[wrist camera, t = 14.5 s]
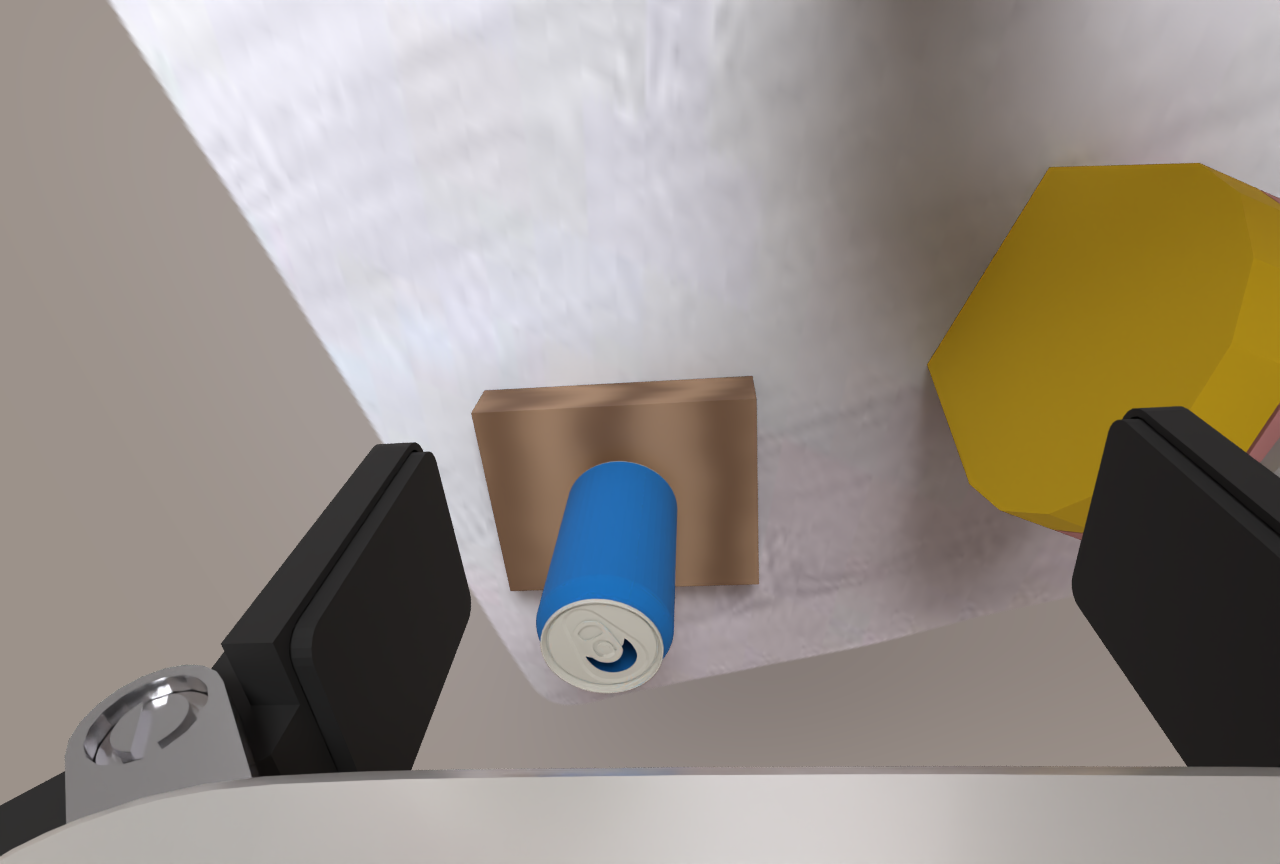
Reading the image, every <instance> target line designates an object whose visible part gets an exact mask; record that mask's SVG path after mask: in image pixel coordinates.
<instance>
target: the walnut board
mask: <svg viewBox="0 0 1280 864" xmlns="http://www.w3.org/2000/svg"><path fill="white" fill-rule="evenodd" d="M471 414H472V419H473V423H474V428H475V432H476V437H477V441H478V446H479V450H480V455H481V459H482V464H483V468H484V473H485V478H486V482H487V487H488V491H489V496H490V500H491V505H492V509H493V514H494V518H495V523H496V527H497V532H498V536H499V541H500V545H501V550H502V554H503V559H504V564H505V568H506V573H507V577H508V582H509V586H510V591H527V590H544V586H545V582H546V578H547V575H548V571H549V567H550V563H551V560H552V556H553V552H554V548H555V545H556V541H557V537H558V534H559V530H560V526H561V522H562V519H563V515H564V511H565V507H566V504H567V500H568V496H569V492H570V490H571V488H572V486H573V484H574V483H575V481H576V480H577V479H578V478H579V477H580V476H581V475H582V474H583V473H584V472H586V471H587V470H589V469H590V468H592V467H594V466H596V465H599V464H602V463H606V462H613V461H627V462H633V463H637V464H641V465H643V466H646V467H648V468H650V469H652V470H653V471H655V472H656V473H658V474H659V475H660V476H661V477H663V478H664V479H665V481H666V482H667V483H668V484H669V486H670V487H671V489H672V491H673V493H674V495H675V498H676V501H677V537H676V571H675V586H712V585H749V584H759V558H758V479H757V399H756V393H755V388H754V382H753V377H752V376H744V377H726V378H707V379H689V380H670V381H652V382H633V383H615V384H596V385H578V386H560V387H541V388H523V389H504V390H486V391H484V392H483V394H482V396H481V397H480V399H479V401H478V403H477V404H476V406H475V408H474V409H473V411H472V413H471Z"/></svg>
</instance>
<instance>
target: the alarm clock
mask: <svg viewBox="0 0 1280 864" xmlns="http://www.w3.org/2000/svg"><path fill="white" fill-rule="evenodd" d="M927 366H928V368H929V371H930V374H931V377H932V380H933V383H934V385H935V388H936V391H937V394H938V397H939V399H940V402H941V405H942V408H943V411H944V414H945V416H946V419H947V422H948V425H949V428H950V431H951V433H952V436H953V439H954V442H955V445H956V447H957V450H958V453H959V456H960V459H961V462H962V464H963V467H964V470H965V473H966V476H967V478H968V481H969V484H970V485H971V486H972V487H973V488H975V489H976V490H977V491H978V492H979V493H980V494H981V495H983V496H984V497H985V498H986V499H987V500H988V501H990V502H991V503H992V504H993V505H994V506H995V507H997V508H998V509H999V510H1000V511H1003V512H1006V513H1009V514H1011V515H1014V516H1017V517H1020V518H1022V519H1025V520H1028V521H1031V522H1033V523H1036V524H1039V525H1042V526H1044V527H1047V528H1050V529H1053V530H1055V531H1058V532H1061V533H1064V534H1066V535H1069V536H1072V537H1075V538H1077V539H1080V540H1082V536H1083V532H1084V528H1085V524H1086V520H1087V516H1088V512H1089V508H1090V503H1091V499H1092V495H1093V491H1094V487H1095V483H1096V479H1097V475H1098V471H1099V467H1100V463H1101V459H1102V455H1103V451H1104V447H1105V443H1106V439H1107V435H1108V431H1109V428H1110V426H1111V425H1112V423H1113V422H1114V421H1116V420H1122V419H1123V417H1124V415H1125V414H1126V413H1127V411H1129V410H1131V409H1132V408H1150V407H1171V406H1182V407H1185V408H1187V409H1189V410H1190V411H1191V412H1193V413H1194V414H1195V415H1197V416H1198V417H1199V418H1201V419H1202V420H1203V421H1205V422H1206V423H1207V424H1209V425H1210V426H1211V427H1213V428H1214V429H1215V430H1217V431H1218V432H1219V433H1221V434H1222V435H1223V436H1225V437H1226V438H1227V439H1229V440H1230V441H1231V442H1233V443H1234V444H1235V445H1237V446H1238V447H1239V448H1241V449H1242V450H1244V451H1245V452H1246V453H1248V454H1249V455H1250V456H1252V457H1253V458H1254V459H1256V460H1257V461H1258V462H1260V463H1261V464H1262V465H1264V466H1265V467H1266V468H1268V469H1269V470H1270V471H1272V472H1273V473H1274V474H1276V475H1277V476H1278V477H1280V198H1277V197H1275V196H1273V195H1271V194H1268V193H1266V192H1264V191H1262V190H1259V189H1257V188H1255V187H1253V186H1250V185H1248V184H1246V183H1244V182H1241V181H1239V180H1237V179H1234V178H1232V177H1230V176H1228V175H1225V174H1223V173H1221V172H1219V171H1216V170H1214V169H1212V168H1210V167H1207V166H1205V165H1203V164H1201V163H1181V164H1146V165H1111V166H1076V167H1049V169H1048V170H1047V172H1046V174H1045V175H1044V177H1043V178H1042V180H1041V182H1040V183H1039V185H1038V186H1037V188H1036V190H1035V191H1034V193H1033V195H1032V196H1031V198H1030V199H1029V201H1028V203H1027V204H1026V206H1025V207H1024V209H1023V211H1022V212H1021V214H1020V216H1019V217H1018V219H1017V220H1016V222H1015V224H1014V225H1013V227H1012V228H1011V230H1010V232H1009V233H1008V235H1007V237H1006V238H1005V240H1004V241H1003V243H1002V245H1001V246H1000V248H999V249H998V251H997V253H996V254H995V256H994V257H993V259H992V261H991V262H990V264H989V266H988V267H987V269H986V270H985V272H984V274H983V275H982V277H981V278H980V280H979V282H978V283H977V285H976V287H975V288H974V290H973V291H972V293H971V295H970V296H969V298H968V299H967V301H966V303H965V304H964V306H963V308H962V309H961V311H960V312H959V314H958V316H957V317H956V319H955V320H954V322H953V324H952V325H951V327H950V329H949V330H948V332H947V333H946V335H945V337H944V338H943V340H942V341H941V343H940V345H939V346H938V348H937V350H936V351H935V353H934V354H933V356H932V358H931V359H930V361H929V362H928V364H927Z"/></svg>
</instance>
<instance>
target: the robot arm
mask: <svg viewBox="0 0 1280 864" xmlns="http://www.w3.org/2000/svg"><path fill="white" fill-rule="evenodd" d="M1072 591H1073V596H1074V598H1075V601H1076V603H1077V605H1078V606H1079V608H1080V610H1081V611H1082V612H1083V614H1084V616H1085V617H1086V618H1087V620H1088V621H1089V623H1090V624H1091V626H1092V627H1093V629H1094V630H1095V632H1096V633H1097V635H1098V636H1099V638H1100V639H1101V640H1102V642H1103V643H1104V645H1105V646H1106V648H1107V649H1108V651H1109V652H1110V654H1111V655H1112V657H1113V658H1114V660H1115V661H1116V662H1117V664H1118V665H1119V667H1120V668H1121V670H1122V671H1123V673H1124V674H1125V676H1126V677H1127V678H1128V680H1129V682H1130V683H1131V684H1132V686H1133V687H1134V689H1135V690H1136V692H1137V693H1138V694H1139V696H1140V698H1141V699H1142V701H1143V702H1144V704H1145V705H1146V706H1147V708H1148V709H1149V711H1150V712H1151V714H1152V715H1153V717H1154V718H1155V720H1156V721H1157V722H1158V724H1159V725H1160V727H1161V728H1162V730H1163V731H1164V733H1165V734H1166V736H1167V737H1168V739H1169V740H1170V742H1171V743H1172V745H1173V746H1174V748H1175V749H1176V750H1177V752H1178V753H1179V755H1180V756H1181V758H1182V759H1183V761H1184V762H1185V764H1186V765H1187V767H1085V766H1080V767H1078V766H1077V767H1076V766H1074V767H1073V766H1067V767H1066V766H1059V767H1058V766H1055V767H1054V766H1052V767H1051V766H1048V767H1047V766H933V767H932V766H907V767H906V766H900V767H899V766H895V767H894V766H891V767H889V766H886V767H671V768H670V767H666V768H665V767H661V768H553V769H552V768H551V769H550V768H549V769H458V770H457V769H456V770H411V769H412V767H413V764H414V761H415V759H416V756H417V753H418V751H419V748H420V746H421V743H422V740H423V738H424V735H425V732H426V730H427V727H428V724H429V722H430V719H431V717H432V714H433V712H434V709H435V706H436V704H437V701H438V698H439V696H440V693H441V691H442V688H443V685H444V683H445V680H446V678H447V675H448V672H449V669H450V667H451V664H452V662H453V659H454V657H455V654H456V651H457V649H458V646H459V644H460V641H461V638H462V635H463V633H464V630H465V628H466V625H467V623H468V620H469V616H470V611H471V597H470V591H469V588H468V584H467V580H466V576H465V572H464V568H463V564H462V560H461V556H460V552H459V548H458V544H457V541H456V537H455V533H454V529H453V525H452V521H451V517H450V513H449V509H448V505H447V501H446V498H445V494H444V490H443V486H442V482H441V478H440V474H439V470H438V466H437V462H436V459H435V457H434V455H433V454H432V453H431V452H423V450H422V448H421V446H420V445H419V444H417V443H416V442H415V443H394V444H378V445H376V446H374V447H373V448H372V450H371V451H370V452H369V454H368V455H367V456H366V457H365V459H364V460H363V461H362V463H361V464H360V465H359V466H358V468H357V469H356V470H355V472H354V473H353V474H352V476H351V477H350V478H349V479H348V481H347V482H346V483H345V484H344V486H343V487H342V488H341V490H340V491H339V492H338V494H337V495H336V496H335V497H334V499H333V500H332V502H330V504H329V505H328V506H327V508H326V509H325V510H324V512H323V513H322V514H321V515H320V517H319V518H318V519H317V521H316V522H315V523H314V525H313V526H312V527H311V528H310V530H309V531H308V532H307V534H306V535H305V536H304V537H303V539H302V540H301V541H300V543H299V544H298V545H297V546H296V548H295V549H294V550H293V552H292V553H291V554H290V555H289V557H288V558H287V559H286V561H285V562H284V563H283V564H282V566H281V567H280V568H279V570H278V571H277V572H276V573H275V575H274V576H273V577H272V579H271V580H270V581H269V582H268V584H267V585H266V586H265V588H264V589H263V590H262V591H261V593H260V594H259V595H258V597H257V598H256V599H255V600H254V602H253V603H252V604H251V606H250V607H249V608H248V610H247V611H246V612H245V613H244V615H243V616H242V618H241V619H240V620H239V621H238V622H237V624H236V625H235V626H234V628H233V629H232V630H231V632H230V633H229V634H228V635H227V637H226V638H225V639H224V640H223V642H222V643H221V645H222V647H223V649H224V653H223V654H222V655H221V657H220V658H219V659H218V661H217V662H216V663H215V665H214V666H213V667H212V669H210V668H208V667H205V666H200V665H181V666H176V667H170V668H165V669H162V670H159V671H156V672H154V673H151V674H148V675H146V676H142V677H140V678H139V679H137V680H135V681H133V682H131V683H129V684H127V685H125V686H124V687H122V688H120V689H118V690H117V691H115V692H114V693H113V694H111V695H110V696H109V697H107V698H106V699H104V700H103V701H102V702H100V703H99V704H98V705H97V706H96V707H95V708H94V709H93V710H92V711H91V712H90V713H89V714H88V715H87V716H86V717H85V718H84V719H83V720H82V721H81V722H80V723H79V725H78V726H77V728H76V730H75V731H74V733H73V734H72V736H71V738H70V739H69V741H68V745H67V749H66V754H65V772H63V773H61V774H59V775H57V776H55V777H53V778H51V779H50V780H48V781H46V782H44V783H42V784H40V785H38V786H36V787H34V788H32V789H31V790H29V791H27V792H25V793H23V794H21V795H19V796H17V797H16V798H14V799H12V800H10V801H8V802H6V803H4V804H2V805H1V806H0V864H1280V477H1278V476H1277V475H1276V474H1274V473H1273V472H1272V471H1270V470H1269V469H1268V468H1266V467H1265V466H1264V465H1262V464H1261V463H1260V462H1258V461H1257V460H1256V459H1254V458H1253V457H1252V456H1250V455H1249V454H1248V453H1246V452H1245V451H1244V450H1242V449H1241V448H1239V447H1238V446H1237V445H1235V444H1234V443H1233V442H1231V441H1230V440H1229V439H1227V438H1226V437H1225V436H1223V435H1222V434H1221V433H1219V432H1218V431H1217V430H1215V429H1214V428H1213V427H1211V426H1210V425H1209V424H1207V423H1206V422H1205V421H1203V420H1202V419H1201V418H1199V417H1198V416H1197V415H1195V414H1194V413H1193V412H1191V411H1190V410H1189V409H1187V408H1185V407H1182V406H1171V407H1150V408H1132V409H1131V410H1129V411H1127V413H1126V414H1125V415H1124V417H1123V419H1122V420H1116V421H1114V422H1113V423H1112V425H1111V426H1110V428H1109V431H1108V435H1107V439H1106V443H1105V447H1104V451H1103V455H1102V459H1101V463H1100V467H1099V471H1098V475H1097V479H1096V483H1095V487H1094V491H1093V495H1092V499H1091V503H1090V508H1089V512H1088V516H1087V520H1086V524H1085V528H1084V532H1083V536H1082V540H1081V544H1080V548H1079V552H1078V556H1077V560H1076V564H1075V568H1074V572H1073V576H1072Z"/></svg>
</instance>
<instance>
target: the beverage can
mask: <svg viewBox="0 0 1280 864" xmlns="http://www.w3.org/2000/svg"><path fill="white" fill-rule="evenodd" d="M676 537H677V501H676V498H675V495H674V493H673V491H672V489H671V487H670V486H669V484H668V483H667V482H666V481H665V479H664V478H663V477H661V476H660V475H659V474H658V473H656V472H655V471H653V470H652V469H650V468H648V467H646V466H643V465H641V464H637V463H633V462H627V461H613V462H606V463H602V464H599V465H596V466H594V467H592V468H590V469H589V470H587V471H586V472H584V473H583V474H582V475H581V476H580V477H579V478H578V479H577V480H576V481H575V483H574V484H573V486H572V488H571V490H570V492H569V496H568V500H567V504H566V507H565V511H564V515H563V519H562V522H561V526H560V530H559V534H558V537H557V541H556V545H555V548H554V552H553V556H552V560H551V563H550V567H549V571H548V575H547V578H546V582H545V586H544V590H543V593H542V597H541V601H540V605H539V608H538V612H537V617H536V627H537V633H538V637H539V640H540V646H541V652H542V656H543V658H544V660H545V662H546V663H547V665H548V667H549V668H550V669H551V670H552V671H553V672H554V673H555V674H556V675H557V676H558V677H559V678H561V679H562V680H563V681H565V682H567V683H569V684H570V685H573V686H575V687H577V688H580V689H583V690H586V691H591V692H597V693H618V692H624V691H628V690H631V689H634V688H637V687H639V686H641V685H643V684H644V683H646V682H647V681H648V680H650V679H651V678H652V677H653V676H654V675H655V673H656V672H657V671H658V669H659V667H660V665H661V663H662V659H663V658H664V657H665V655H666V654H667V652H668V651H669V648H670V646H671V643H672V640H673V635H674V605H675V571H676Z"/></svg>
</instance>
